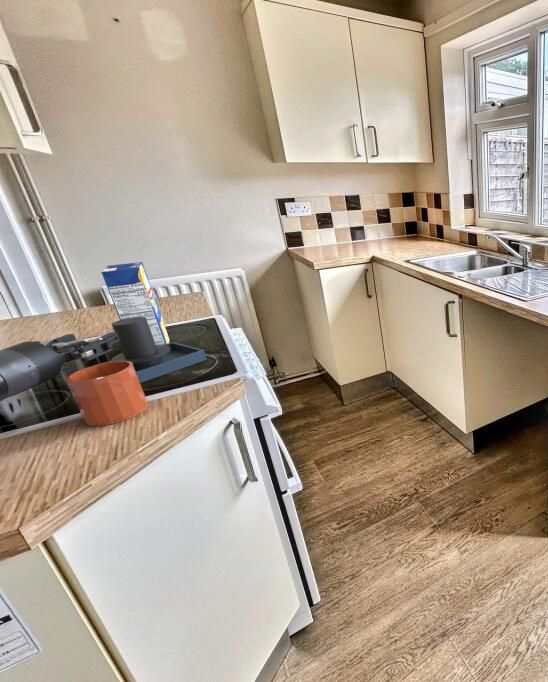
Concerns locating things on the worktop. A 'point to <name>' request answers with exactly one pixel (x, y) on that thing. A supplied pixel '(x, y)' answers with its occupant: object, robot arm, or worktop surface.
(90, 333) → the worktop surface
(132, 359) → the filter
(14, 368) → the robot arm
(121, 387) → the cup
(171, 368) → the tray
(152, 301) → the beverage box
